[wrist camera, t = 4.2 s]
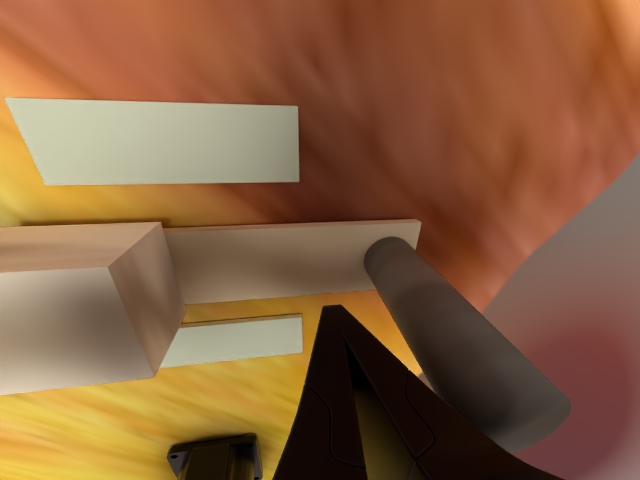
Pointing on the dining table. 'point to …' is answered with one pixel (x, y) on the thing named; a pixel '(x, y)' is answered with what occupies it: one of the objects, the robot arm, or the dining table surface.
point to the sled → (246, 284)
